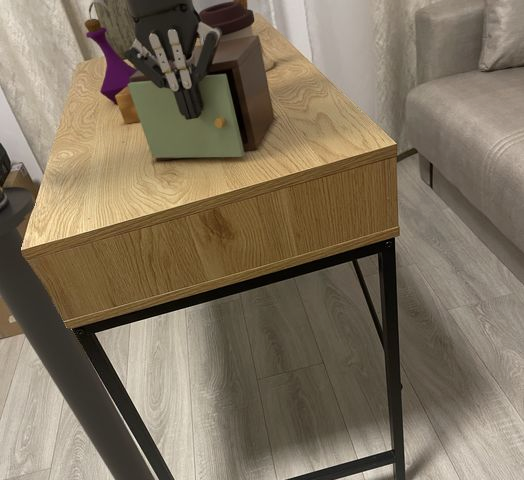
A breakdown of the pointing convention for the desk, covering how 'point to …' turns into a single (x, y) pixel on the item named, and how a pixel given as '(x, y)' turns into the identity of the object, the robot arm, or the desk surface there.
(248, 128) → the cupboard
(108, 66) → the perfume bottle
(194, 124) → the door
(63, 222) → the desk surface
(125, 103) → the block
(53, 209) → the desk surface
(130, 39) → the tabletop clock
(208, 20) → the coffee cup
